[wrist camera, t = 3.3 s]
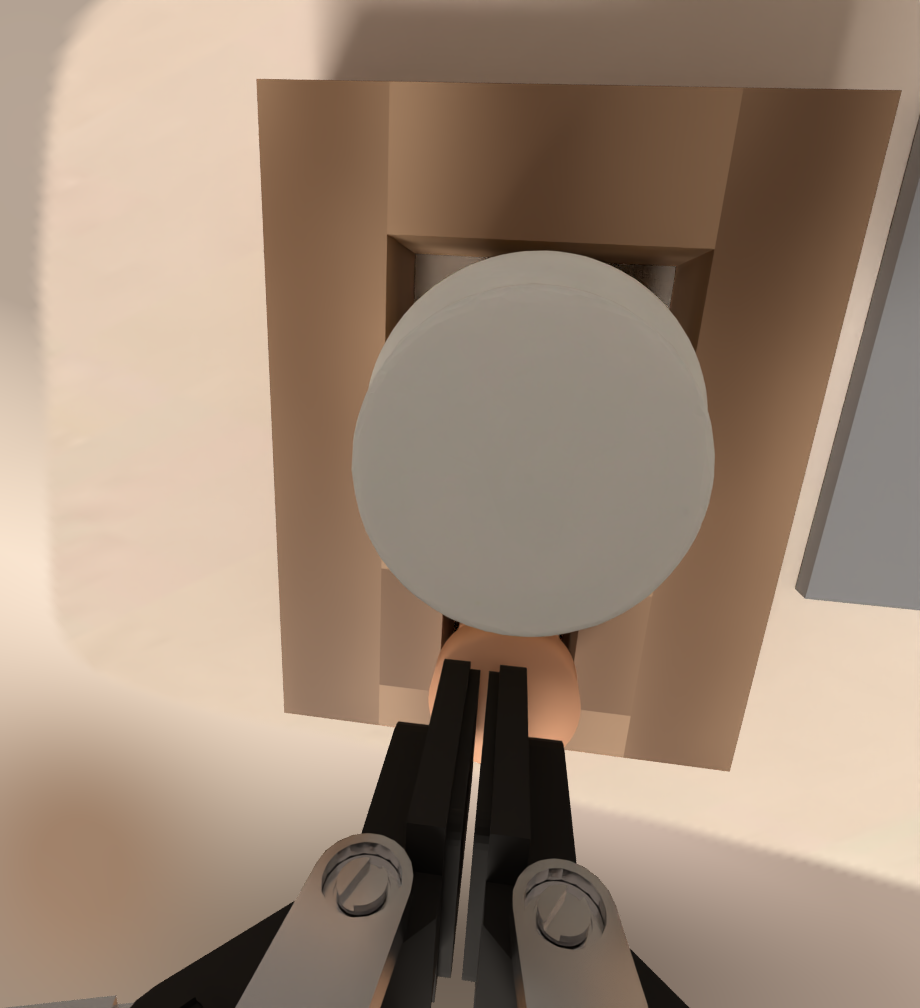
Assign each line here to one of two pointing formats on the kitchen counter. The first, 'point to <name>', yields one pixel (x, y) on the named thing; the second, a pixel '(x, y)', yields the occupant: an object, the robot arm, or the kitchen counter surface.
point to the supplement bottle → (534, 445)
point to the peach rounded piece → (546, 678)
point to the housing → (583, 231)
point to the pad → (877, 441)
